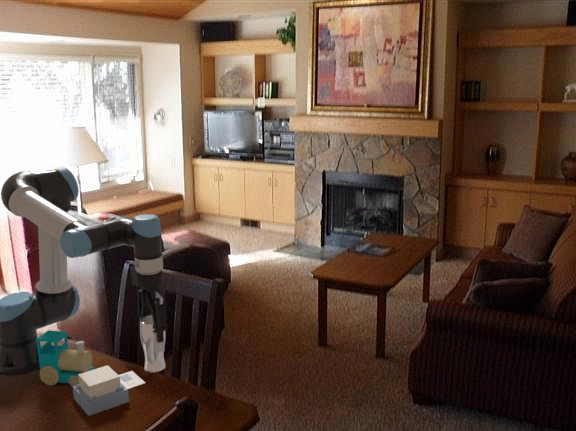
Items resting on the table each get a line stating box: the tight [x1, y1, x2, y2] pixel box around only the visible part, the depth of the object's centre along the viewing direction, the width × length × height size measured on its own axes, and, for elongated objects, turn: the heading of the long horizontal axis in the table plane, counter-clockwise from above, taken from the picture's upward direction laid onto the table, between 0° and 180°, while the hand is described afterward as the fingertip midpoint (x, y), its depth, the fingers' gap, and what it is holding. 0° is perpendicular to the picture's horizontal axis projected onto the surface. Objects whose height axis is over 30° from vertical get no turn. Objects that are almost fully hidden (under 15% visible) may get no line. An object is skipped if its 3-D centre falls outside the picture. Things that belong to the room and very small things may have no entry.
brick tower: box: [72, 365, 130, 417], centre depth 181 cm, size 12×12×8 cm
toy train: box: [37, 330, 96, 388], centre depth 192 cm, size 8×17×15 cm, turn 79°
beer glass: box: [139, 314, 166, 373], centre depth 177 cm, size 7×7×15 cm
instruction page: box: [118, 370, 146, 390], centre depth 193 cm, size 10×7×1 cm
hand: (153, 346), depth 177 cm, fingers closed on beer glass, 7 cm apart
